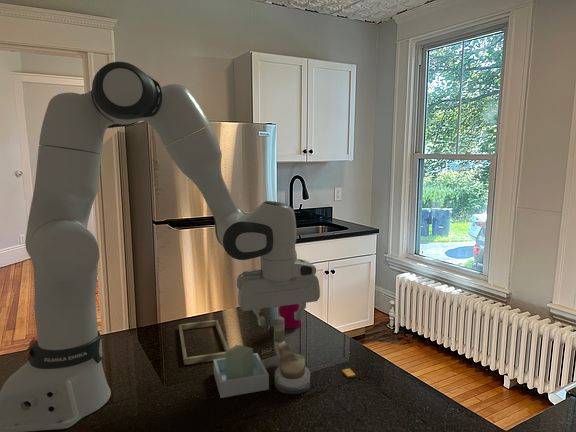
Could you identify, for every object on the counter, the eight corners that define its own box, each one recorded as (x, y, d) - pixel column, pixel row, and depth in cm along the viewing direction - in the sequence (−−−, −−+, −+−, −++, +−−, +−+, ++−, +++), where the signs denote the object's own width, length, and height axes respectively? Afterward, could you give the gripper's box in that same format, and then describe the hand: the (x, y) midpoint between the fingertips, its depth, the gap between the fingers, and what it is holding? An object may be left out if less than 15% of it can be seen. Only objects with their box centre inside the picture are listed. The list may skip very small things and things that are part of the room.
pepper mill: (300, 330, 123) (300, 264, 120) (276, 328, 125) (275, 263, 122) (304, 320, 130) (304, 258, 127) (281, 319, 132) (281, 257, 129)
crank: (308, 376, 92) (308, 339, 91) (284, 380, 91) (284, 343, 89) (288, 347, 106) (288, 315, 105) (267, 350, 104) (266, 318, 103)
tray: (220, 398, 89) (220, 382, 89) (213, 373, 99) (213, 359, 99) (268, 389, 92) (268, 374, 92) (257, 366, 102) (257, 352, 102)
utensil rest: (184, 365, 103) (183, 359, 103) (178, 329, 125) (178, 324, 124) (230, 357, 107) (230, 352, 107) (217, 324, 128) (217, 319, 128)
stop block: (242, 386, 93) (242, 356, 92) (226, 381, 95) (225, 352, 94) (253, 376, 97) (252, 348, 96) (237, 372, 99) (236, 344, 98)
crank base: (280, 397, 89) (280, 384, 89) (270, 378, 97) (270, 367, 97) (360, 382, 95) (360, 370, 95) (345, 365, 103) (345, 354, 102)
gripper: (239, 276, 95) (241, 333, 97) (322, 267, 101) (322, 321, 103) (233, 268, 101) (236, 323, 103) (312, 260, 107) (313, 312, 109)
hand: (280, 322), depth 103 cm, fingers open, 8 cm apart
